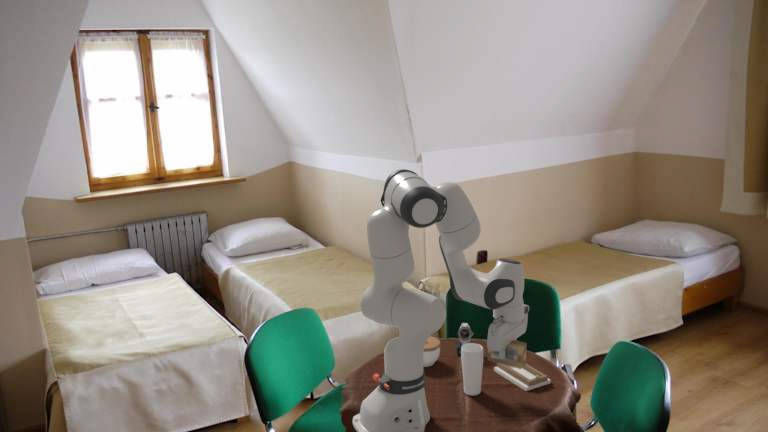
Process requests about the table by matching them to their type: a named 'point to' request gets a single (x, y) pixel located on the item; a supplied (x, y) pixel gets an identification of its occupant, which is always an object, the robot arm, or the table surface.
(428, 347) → the lidded jar
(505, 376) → the small wooden cabinet
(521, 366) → the cardboard box
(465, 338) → the watch
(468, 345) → the drinking glass
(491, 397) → the table surface
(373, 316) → the robot arm
